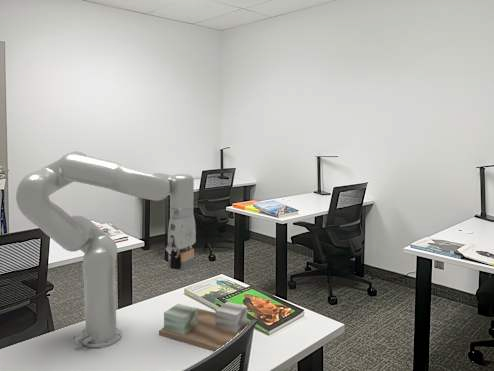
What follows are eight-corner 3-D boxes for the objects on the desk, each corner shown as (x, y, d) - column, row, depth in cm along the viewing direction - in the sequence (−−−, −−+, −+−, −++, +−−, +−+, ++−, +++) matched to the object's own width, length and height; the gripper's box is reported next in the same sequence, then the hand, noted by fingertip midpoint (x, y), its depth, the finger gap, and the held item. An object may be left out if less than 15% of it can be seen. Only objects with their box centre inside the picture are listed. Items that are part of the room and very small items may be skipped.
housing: (183, 271, 136) (183, 250, 135) (168, 267, 139) (168, 247, 138) (193, 265, 142) (194, 245, 141) (178, 262, 144) (179, 242, 143)
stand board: (221, 353, 130) (222, 330, 129) (158, 334, 141) (158, 313, 140) (251, 325, 149) (251, 305, 148) (193, 311, 160) (193, 292, 159)
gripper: (175, 218, 129) (175, 275, 131) (205, 209, 144) (204, 260, 146) (155, 215, 132) (155, 271, 134) (187, 207, 147) (186, 257, 150)
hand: (181, 265), depth 140 cm, fingers closed on housing, 6 cm apart
